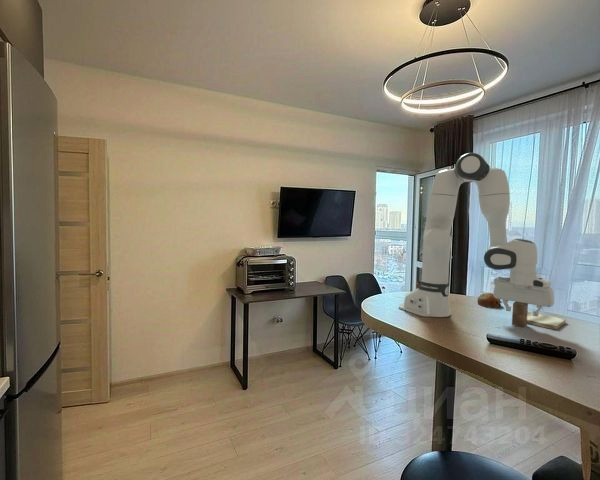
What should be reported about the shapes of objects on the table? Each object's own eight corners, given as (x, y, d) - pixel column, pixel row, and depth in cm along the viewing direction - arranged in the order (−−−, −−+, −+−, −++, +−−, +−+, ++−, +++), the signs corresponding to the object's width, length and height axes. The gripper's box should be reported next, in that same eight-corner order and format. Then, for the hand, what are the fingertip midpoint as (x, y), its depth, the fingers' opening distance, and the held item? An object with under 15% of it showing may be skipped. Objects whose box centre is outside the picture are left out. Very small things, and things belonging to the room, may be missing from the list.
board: (515, 320, 136) (515, 317, 136) (525, 314, 145) (526, 311, 145) (556, 329, 125) (556, 326, 125) (565, 322, 134) (565, 319, 134)
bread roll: (491, 309, 166) (486, 294, 168) (508, 306, 157) (502, 289, 159) (476, 311, 162) (471, 295, 165) (492, 307, 153) (487, 291, 156)
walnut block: (511, 324, 131) (513, 302, 130) (515, 322, 133) (516, 301, 132) (523, 327, 128) (524, 304, 127) (526, 325, 130) (528, 303, 129)
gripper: (491, 276, 135) (490, 309, 136) (551, 284, 119) (550, 320, 120) (497, 275, 139) (496, 306, 140) (556, 282, 123) (554, 317, 124)
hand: (521, 313), depth 130 cm, fingers open, 8 cm apart
